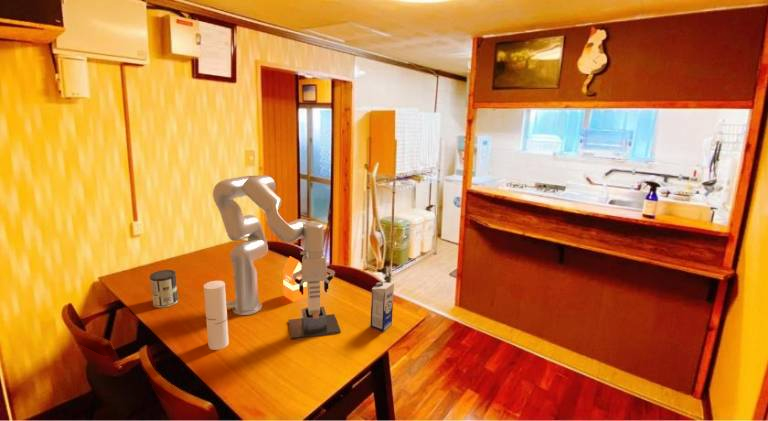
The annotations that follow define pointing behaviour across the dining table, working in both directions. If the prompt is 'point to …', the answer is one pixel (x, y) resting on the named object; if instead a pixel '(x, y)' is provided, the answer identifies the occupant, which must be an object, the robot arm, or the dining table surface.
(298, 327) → the stand base
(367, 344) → the dining table surface
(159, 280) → the coffee can
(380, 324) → the milk carton
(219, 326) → the cylindrical container
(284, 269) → the orange juice
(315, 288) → the column
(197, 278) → the dining table surface
